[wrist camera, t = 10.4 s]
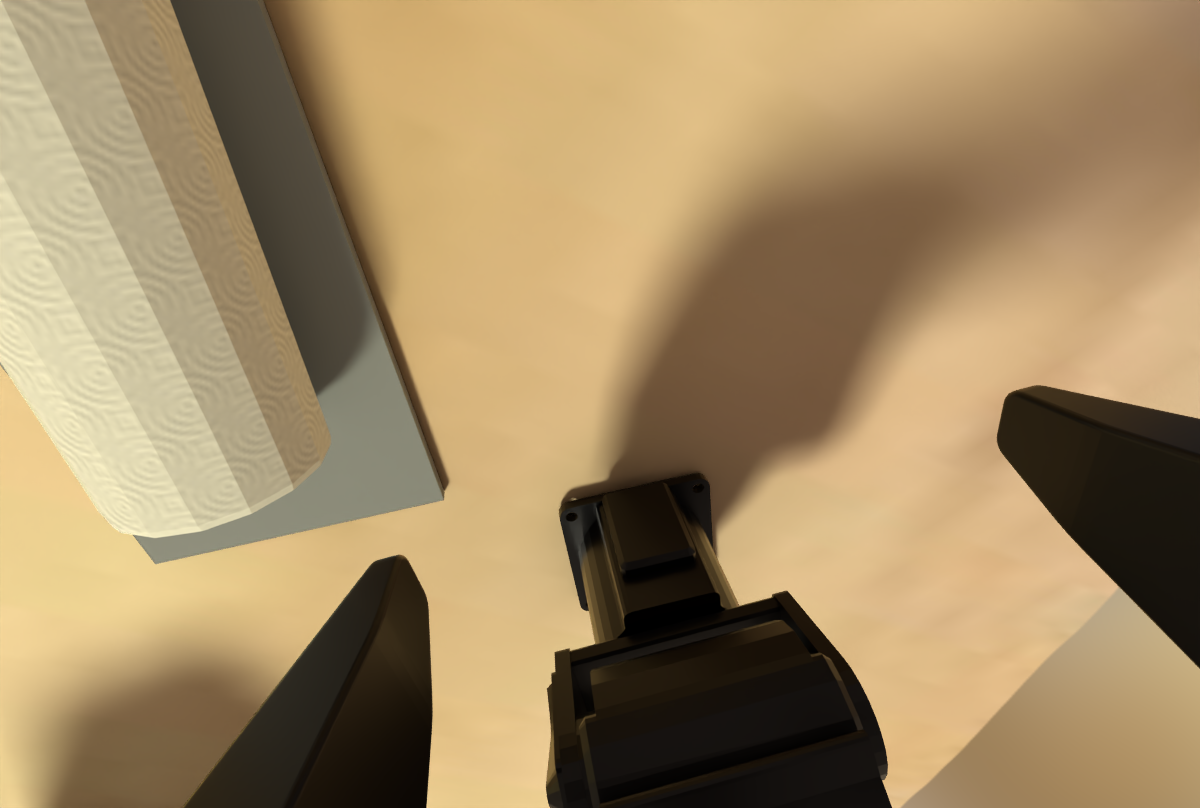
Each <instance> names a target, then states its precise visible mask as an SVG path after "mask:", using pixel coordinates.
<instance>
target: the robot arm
mask: <svg viewBox="0 0 1200 808" xmlns="http://www.w3.org/2000/svg"><path fill="white" fill-rule="evenodd" d="M997 443H998V447H999V449H1000V451H1001V453H1002V454H1003V455H1004V457H1005V458H1006V459H1007V460H1008V462H1009V463H1010V464H1011V465H1012V466H1013V468H1014V469H1015V470H1016V471H1017V473H1018V474H1019V475H1020V476H1021V478H1022V479H1023V480H1024V481H1025V482H1026V484H1027V485H1028V486H1029V487H1030V489H1031V490H1032V491H1033V492H1034V494H1035V495H1036V496H1037V497H1038V498H1039V500H1040V501H1041V502H1042V503H1043V505H1044V506H1045V507H1046V508H1047V510H1048V511H1049V512H1050V513H1051V514H1052V516H1053V517H1054V518H1055V519H1056V521H1057V522H1058V523H1059V524H1060V525H1061V526H1062V528H1063V529H1064V530H1065V531H1066V532H1067V534H1068V535H1069V536H1070V537H1071V538H1072V539H1073V540H1074V541H1075V542H1076V543H1077V544H1078V545H1079V546H1080V547H1081V549H1082V550H1083V551H1084V552H1085V553H1086V554H1087V555H1088V556H1089V557H1090V558H1091V559H1092V560H1093V561H1094V562H1095V563H1096V564H1097V565H1098V566H1099V567H1100V568H1101V569H1102V570H1103V571H1104V572H1105V573H1106V574H1107V575H1108V576H1109V577H1110V578H1111V579H1112V580H1113V581H1114V582H1115V583H1116V584H1117V585H1118V586H1119V587H1120V588H1121V589H1122V590H1123V591H1124V592H1125V593H1126V594H1127V595H1128V596H1129V597H1130V598H1131V599H1132V600H1133V601H1134V602H1135V603H1136V604H1137V605H1138V607H1140V609H1142V610H1143V612H1144V613H1145V614H1146V615H1147V616H1148V617H1149V618H1150V619H1151V620H1152V621H1153V622H1154V623H1155V624H1156V625H1157V626H1158V627H1159V628H1160V629H1161V630H1162V631H1163V632H1164V633H1165V634H1166V635H1167V636H1168V637H1169V638H1170V639H1171V640H1172V641H1173V642H1174V643H1175V644H1176V645H1177V646H1178V647H1179V648H1180V649H1181V650H1182V651H1183V652H1184V653H1185V654H1186V655H1187V656H1188V657H1189V658H1190V659H1191V660H1192V661H1193V662H1194V663H1195V664H1196V665H1197V667H1199V668H1200V419H1198V418H1193V417H1188V416H1184V415H1179V414H1174V413H1169V412H1165V411H1160V410H1155V409H1151V408H1146V407H1141V406H1136V405H1132V404H1127V403H1122V402H1117V401H1113V400H1108V399H1103V398H1099V397H1094V396H1089V395H1084V394H1080V393H1075V392H1070V391H1066V390H1061V389H1056V388H1051V387H1047V386H1041V385H1036V386H1031V387H1027V388H1023V389H1019V390H1016V391H1013V392H1011V393H1009V394H1008V395H1007V397H1006V398H1005V400H1004V404H1003V409H1002V414H1001V418H1000V423H999V428H998V433H997ZM696 484H700V485H699V486H697V487H694V486H695V485H696ZM571 512H574V513H575V514H573V515H567V514H568V513H571ZM559 517H560V522H561V526H562V530H563V534H564V539H565V543H566V547H567V551H568V555H569V559H570V564H571V568H572V572H573V576H574V580H575V585H576V589H577V593H578V597H579V601H580V606H581V608H582V609H584V610H586V611H589V614H590V619H591V624H592V629H593V634H594V639H595V644H594V645H590V646H587V647H583V648H579V649H575V650H572V651H570V649H565V650H561V651H557V652H555V671H556V672H554V673H552V674H551V676H552V684H551V685H550V686H549V687H548V688H547V692H548V702H549V712H550V723H551V742H550V752H549V761H548V771H547V781H546V792H547V799H548V804H549V807H550V808H892V806H891V804H890V801H889V798H888V795H887V793H886V790H885V787H884V784H883V782H882V780H885V778H886V776H887V770H888V762H887V756H886V749H885V745H884V742H883V738H882V734H881V731H880V728H879V725H878V722H877V719H876V717H875V714H874V712H873V709H872V707H871V705H870V702H869V700H868V698H867V696H866V694H865V692H864V690H863V688H862V686H861V684H860V682H859V680H858V679H857V677H856V675H855V674H854V672H853V670H852V669H851V667H850V666H849V665H848V663H847V662H846V661H845V659H844V658H843V657H842V656H841V654H840V653H839V652H838V651H837V650H836V648H835V647H834V646H833V645H832V644H831V642H830V641H829V640H828V639H827V638H826V636H825V635H824V634H823V633H822V632H821V630H820V629H819V628H818V627H817V626H816V624H815V623H814V622H813V621H812V620H811V619H810V617H809V616H808V615H807V614H806V613H805V611H804V610H803V609H802V608H801V607H800V605H799V604H798V603H797V602H796V601H795V599H794V598H793V597H792V596H791V595H790V593H789V592H788V591H783V592H779V593H776V594H772V597H771V598H767V599H763V600H760V601H756V602H752V603H748V604H745V605H741V606H739V604H738V602H737V600H736V598H735V596H734V593H733V591H732V589H731V587H730V585H729V583H728V581H727V578H726V576H725V574H724V572H723V570H722V568H721V566H720V564H719V561H718V559H717V557H716V555H715V553H714V551H713V540H712V521H711V502H710V485H709V482H708V480H707V479H706V477H705V476H704V475H703V474H700V473H695V474H690V475H686V476H681V477H677V478H672V479H668V480H664V481H659V482H655V483H650V484H646V485H641V486H637V487H633V488H628V489H624V490H619V491H615V492H610V493H606V494H602V495H597V496H593V497H588V498H584V499H579V500H575V501H570V502H567V503H565V504H563V505H562V506H561V507H560V509H559ZM432 713H433V711H432V679H431V655H430V631H429V609H428V602H427V597H426V594H425V592H424V590H423V588H422V586H421V584H420V582H419V580H418V578H417V576H416V574H415V572H414V571H413V569H412V567H411V565H410V563H409V561H408V560H407V558H406V557H405V556H403V555H395V556H392V557H388V558H384V559H380V560H377V561H375V562H373V563H372V564H371V565H370V566H369V568H368V569H367V570H366V571H365V573H364V574H363V575H362V577H361V578H360V579H359V580H358V582H357V583H356V584H355V586H354V587H353V588H352V589H351V591H350V592H349V593H348V595H347V596H346V597H345V599H344V600H343V601H342V602H341V604H340V605H339V606H338V608H337V609H336V610H335V611H334V613H333V614H332V615H331V617H330V618H329V619H328V620H327V622H326V623H325V624H324V626H323V627H322V628H321V629H320V631H319V632H318V633H317V635H316V636H315V637H314V638H313V640H312V641H311V642H310V644H309V645H308V646H307V648H306V649H305V650H304V651H303V653H302V654H301V655H300V657H299V658H298V659H297V660H296V662H295V663H294V664H293V666H292V667H291V668H290V669H289V671H288V672H287V673H286V675H285V676H284V677H283V678H282V680H281V681H280V682H279V684H278V685H277V686H276V687H275V689H274V690H273V691H272V693H271V694H270V695H269V696H268V698H267V699H266V700H265V702H264V703H263V704H262V706H261V707H260V708H259V709H258V711H257V712H256V713H255V715H254V716H253V717H252V718H251V720H250V721H249V722H248V724H247V725H246V726H245V727H244V729H243V730H242V731H241V733H240V734H239V735H238V736H237V738H236V739H235V740H234V742H233V743H232V744H231V745H230V747H229V748H228V749H227V751H226V752H225V753H224V755H223V756H222V757H221V758H220V760H219V761H218V762H217V764H216V765H215V766H214V767H213V769H212V770H211V771H210V773H209V774H208V775H207V776H206V778H205V779H204V780H203V782H202V783H201V784H200V785H199V787H198V788H197V789H196V791H195V792H194V793H193V794H192V796H191V797H190V798H189V800H188V801H187V802H186V803H185V805H184V806H183V807H182V808H426V804H427V790H428V776H429V762H430V748H431V734H432Z"/></svg>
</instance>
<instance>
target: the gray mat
mask: <svg viewBox="0 0 1200 808" xmlns="http://www.w3.org/2000/svg"><path fill="white" fill-rule="evenodd" d="M170 1H171V4H172V7H173V9H174V12H175V15H176V18H177V20H178V23H179V26H180V28H181V31H182V34H183V36H184V39H185V42H186V45H187V47H188V50H189V53H190V55H191V58H192V61H193V64H194V66H195V69H196V72H197V74H198V77H199V80H200V83H201V85H202V88H203V91H204V93H205V96H206V99H207V101H208V104H209V107H210V110H211V112H212V115H213V118H214V120H215V123H216V126H217V129H218V131H219V134H220V137H221V139H222V142H223V145H224V148H225V150H226V153H227V156H228V158H229V161H230V164H231V167H232V169H233V172H234V175H235V177H236V180H237V183H238V185H239V188H240V191H241V194H242V196H243V199H244V202H245V204H246V207H247V210H248V213H249V215H250V218H251V221H252V223H253V226H254V229H255V232H256V234H257V237H258V240H259V242H260V245H261V248H262V250H263V253H264V256H265V259H266V261H267V264H268V267H269V269H270V272H271V275H272V278H273V280H274V283H275V286H276V288H277V291H278V294H279V297H280V299H281V302H282V305H283V307H284V310H285V313H286V316H287V318H288V321H289V324H290V326H291V329H292V332H293V334H294V337H295V340H296V343H297V345H298V348H299V351H300V353H301V356H302V359H303V362H304V364H305V367H306V370H307V372H308V375H309V378H310V381H311V383H312V386H313V389H314V391H315V394H316V397H317V399H318V402H319V405H320V408H321V410H322V413H323V416H324V418H325V421H326V424H327V427H328V430H329V433H330V436H331V445H330V447H329V449H328V451H327V453H326V455H325V457H324V459H323V461H322V464H321V466H320V467H318V468H317V469H316V470H315V471H314V472H313V473H312V474H311V475H310V476H309V477H307V478H306V479H305V480H304V481H303V482H302V483H301V484H300V485H299V486H298V487H296V488H295V489H294V490H293V491H291V492H289V493H288V494H286V495H284V496H282V497H281V498H279V499H277V500H275V501H274V502H272V503H270V504H268V505H266V506H265V507H263V508H261V509H259V510H258V511H256V512H254V513H252V514H250V515H247V516H244V517H241V518H238V519H236V520H233V521H230V522H227V523H224V524H221V525H219V526H216V527H213V528H210V529H207V530H204V531H200V532H194V533H187V534H180V535H173V536H166V537H159V538H151V537H145V536H138V535H133V536H134V537H135V538H136V540H137V541H138V542H139V544H140V545H141V546H142V547H143V549H144V550H145V551H146V553H147V554H148V555H149V556H150V558H151V559H152V560H153V562H154V563H155V564H158V563H163V562H167V561H172V560H176V559H181V558H185V557H190V556H194V555H199V554H203V553H208V552H212V551H217V550H221V549H226V548H230V547H235V546H239V545H244V544H248V543H253V542H258V541H262V540H267V539H271V538H276V537H280V536H285V535H289V534H294V533H298V532H303V531H307V530H312V529H316V528H321V527H325V526H330V525H334V524H339V523H343V522H348V521H352V520H357V519H361V518H366V517H370V516H375V515H379V514H384V513H388V512H393V511H397V510H402V509H406V508H411V507H415V506H420V505H424V504H429V503H433V502H438V501H442V500H444V489H443V487H442V484H441V481H440V479H439V476H438V473H437V470H436V468H435V465H434V462H433V460H432V457H431V454H430V451H429V449H428V446H427V443H426V441H425V438H424V435H423V433H422V430H421V427H420V424H419V422H418V419H417V416H416V414H415V411H414V408H413V405H412V403H411V400H410V397H409V395H408V392H407V389H406V386H405V384H404V381H403V378H402V376H401V373H400V370H399V367H398V365H397V362H396V359H395V357H394V354H393V351H392V348H391V346H390V343H389V340H388V338H387V335H386V332H385V329H384V327H383V324H382V321H381V319H380V316H379V313H378V310H377V308H376V305H375V302H374V300H373V297H372V294H371V291H370V289H369V286H368V283H367V281H366V278H365V275H364V272H363V270H362V267H361V264H360V262H359V259H358V256H357V253H356V251H355V248H354V245H353V243H352V240H351V237H350V234H349V232H348V229H347V226H346V224H345V221H344V218H343V215H342V213H341V210H340V207H339V205H338V202H337V199H336V196H335V194H334V191H333V188H332V186H331V183H330V180H329V177H328V175H327V172H326V169H325V167H324V164H323V161H322V158H321V156H320V153H319V150H318V148H317V145H316V142H315V139H314V137H313V134H312V131H311V129H310V126H309V123H308V120H307V118H306V115H305V112H304V110H303V107H302V104H301V101H300V99H299V96H298V93H297V91H296V88H295V85H294V82H293V80H292V77H291V74H290V72H289V69H288V66H287V63H286V61H285V58H284V55H283V53H282V50H281V47H280V44H279V42H278V39H277V36H276V34H275V31H274V28H273V25H272V23H271V20H270V17H269V15H268V12H267V9H266V6H265V4H264V1H263V0H170ZM0 365H1V366H2V364H1V363H0ZM2 368H3V369H4V367H3V366H2ZM4 370H5V369H4ZM5 372H6V370H5ZM6 373H7V372H6ZM7 374H8V373H7ZM9 377H10V376H9Z"/></svg>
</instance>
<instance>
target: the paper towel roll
mask: <svg viewBox="0 0 1200 808" xmlns="http://www.w3.org/2000/svg"><path fill="white" fill-rule="evenodd" d="M0 363H1V364H2V366H3V367H4V369H5V370H6V372H7V373H8V375H9V376H10V378H11V379H12V381H13V382H14V384H15V385H16V387H17V388H18V390H19V392H20V393H21V395H22V396H23V398H24V399H25V401H26V402H27V404H28V405H29V407H30V408H31V410H32V411H33V413H34V414H35V416H36V417H37V419H38V420H39V422H40V423H41V425H42V426H43V428H44V430H45V431H46V433H47V434H48V436H49V437H50V439H51V440H52V442H53V443H54V445H55V446H56V448H57V449H58V451H59V452H60V454H61V455H62V457H63V458H64V460H65V461H66V463H67V464H68V466H69V467H70V469H71V471H72V472H73V474H74V475H75V477H76V478H77V480H78V481H79V483H80V484H81V486H82V487H83V489H84V490H85V492H86V493H87V495H88V496H89V498H90V499H91V501H92V502H93V504H94V505H95V507H96V508H97V510H98V512H99V513H100V514H101V515H102V516H103V517H104V518H105V519H106V520H107V521H108V522H109V524H110V525H111V526H112V527H113V528H114V529H116V530H117V531H119V532H120V533H125V534H132V535H138V536H145V537H151V538H159V537H166V536H173V535H180V534H187V533H194V532H200V531H204V530H207V529H210V528H213V527H216V526H219V525H221V524H224V523H227V522H230V521H233V520H236V519H238V518H241V517H244V516H247V515H250V514H252V513H254V512H256V511H258V510H259V509H261V508H263V507H265V506H266V505H268V504H270V503H272V502H274V501H275V500H277V499H279V498H281V497H282V496H284V495H286V494H288V493H289V492H291V491H293V490H294V489H295V488H296V487H298V486H299V485H300V484H301V483H302V482H303V481H304V480H305V479H306V478H307V477H309V476H310V475H311V474H312V473H313V472H314V471H315V470H316V469H317V468H318V467H320V466H321V464H322V461H323V459H324V457H325V455H326V453H327V451H328V449H329V447H330V445H331V436H330V433H329V430H328V427H327V424H326V421H325V418H324V416H323V413H322V410H321V408H320V405H319V402H318V399H317V397H316V394H315V391H314V389H313V386H312V383H311V381H310V378H309V375H308V372H307V370H306V367H305V364H304V362H303V359H302V356H301V353H300V351H299V348H298V345H297V343H296V340H295V337H294V334H293V332H292V329H291V326H290V324H289V321H288V318H287V316H286V313H285V310H284V307H283V305H282V302H281V299H280V297H279V294H278V291H277V288H276V286H275V283H274V280H273V278H272V275H271V272H270V269H269V267H268V264H267V261H266V259H265V256H264V253H263V250H262V248H261V245H260V242H259V240H258V237H257V234H256V232H255V229H254V226H253V223H252V221H251V218H250V215H249V213H248V210H247V207H246V204H245V202H244V199H243V196H242V194H241V191H240V188H239V185H238V183H237V180H236V177H235V175H234V172H233V169H232V167H231V164H230V161H229V158H228V156H227V153H226V150H225V148H224V145H223V142H222V139H221V137H220V134H219V131H218V129H217V126H216V123H215V120H214V118H213V115H212V112H211V110H210V107H209V104H208V101H207V99H206V96H205V93H204V91H203V88H202V85H201V83H200V80H199V77H198V74H197V72H196V69H195V66H194V64H193V61H192V58H191V55H190V53H189V50H188V47H187V45H186V42H185V39H184V36H183V34H182V31H181V28H180V26H179V23H178V20H177V18H176V15H175V12H174V9H173V7H172V4H171V1H170V0H0Z"/></svg>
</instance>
